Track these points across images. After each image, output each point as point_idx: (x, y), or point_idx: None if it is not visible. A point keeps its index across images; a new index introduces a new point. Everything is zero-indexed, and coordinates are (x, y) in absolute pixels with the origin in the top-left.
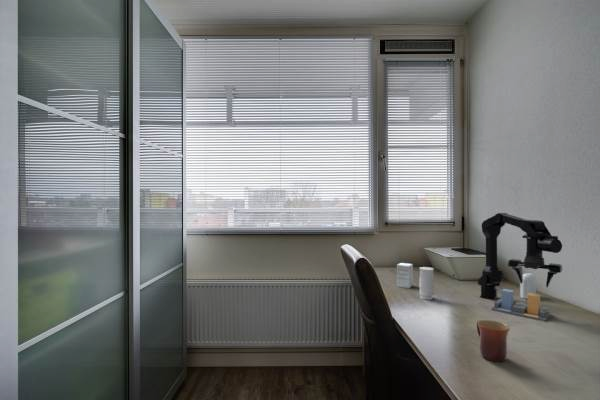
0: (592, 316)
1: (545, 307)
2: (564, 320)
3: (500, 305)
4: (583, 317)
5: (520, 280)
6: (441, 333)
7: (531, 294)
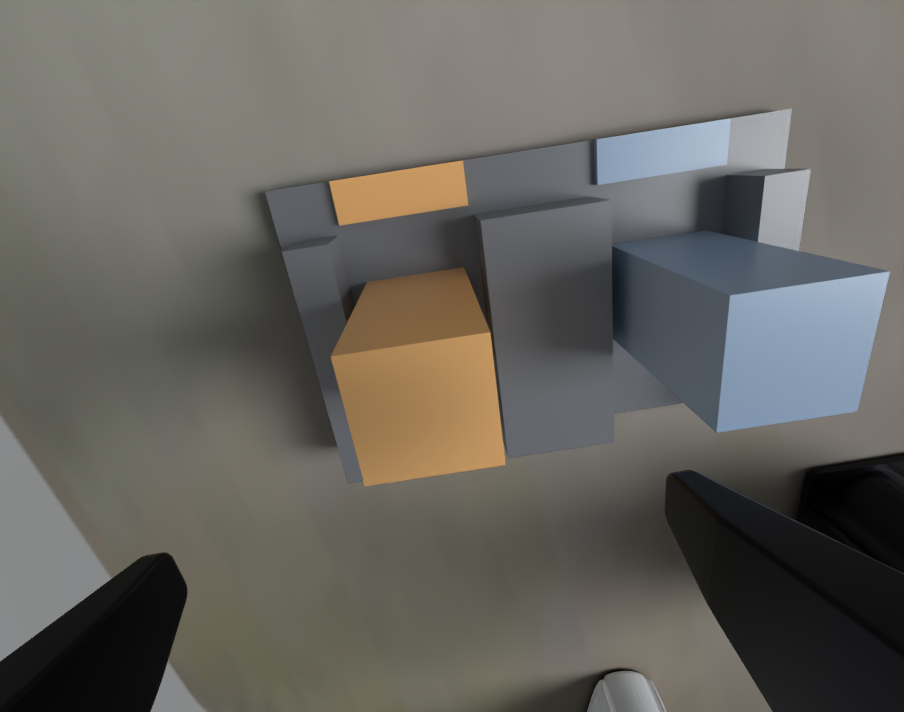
0: None
1: None
2: (204, 383)
3: None
4: None
5: (745, 504)
6: None
7: (455, 406)
